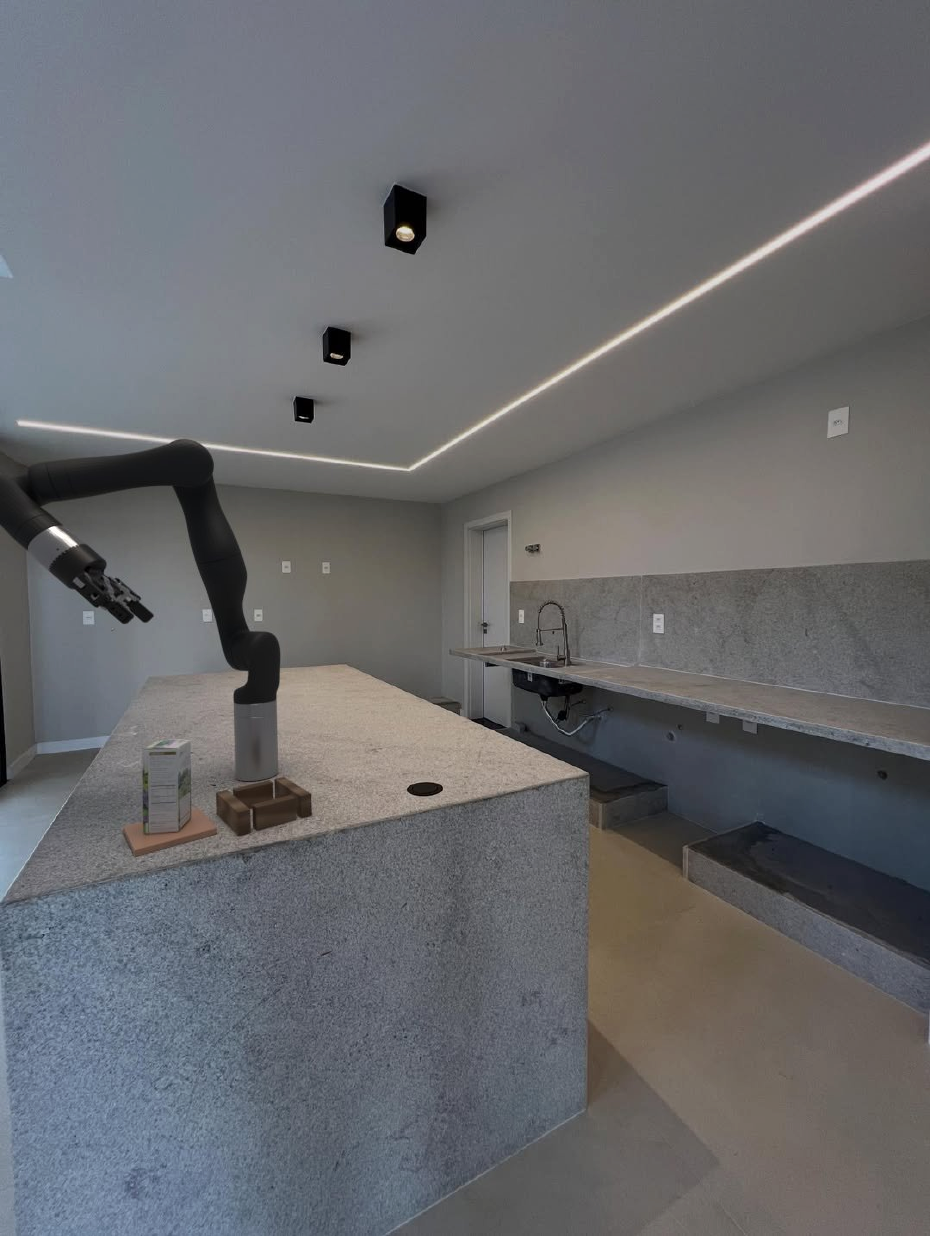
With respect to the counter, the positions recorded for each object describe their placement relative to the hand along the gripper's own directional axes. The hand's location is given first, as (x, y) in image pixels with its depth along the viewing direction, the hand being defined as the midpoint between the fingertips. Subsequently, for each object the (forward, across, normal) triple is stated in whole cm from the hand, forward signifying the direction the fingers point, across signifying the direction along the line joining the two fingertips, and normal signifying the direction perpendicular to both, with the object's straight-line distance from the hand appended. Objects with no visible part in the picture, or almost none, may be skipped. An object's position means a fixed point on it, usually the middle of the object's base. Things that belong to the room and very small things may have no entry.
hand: (140, 620), depth 95 cm
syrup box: (+30, -8, +21) cm, 37 cm away
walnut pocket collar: (+41, -3, +11) cm, 42 cm away
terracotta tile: (+31, -8, +21) cm, 38 cm away
